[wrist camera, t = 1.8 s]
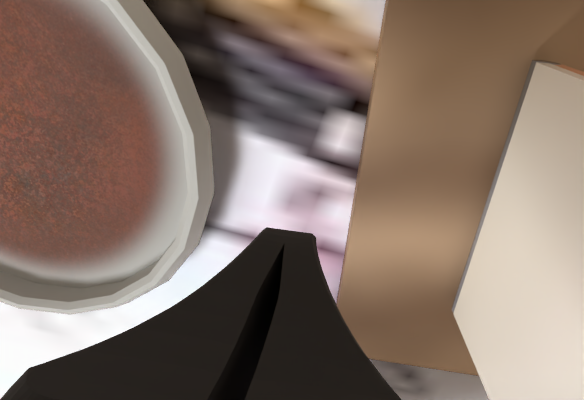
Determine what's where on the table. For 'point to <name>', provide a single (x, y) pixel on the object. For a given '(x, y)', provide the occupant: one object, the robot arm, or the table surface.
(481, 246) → the tile
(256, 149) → the table surface
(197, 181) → the frying pan
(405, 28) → the board
